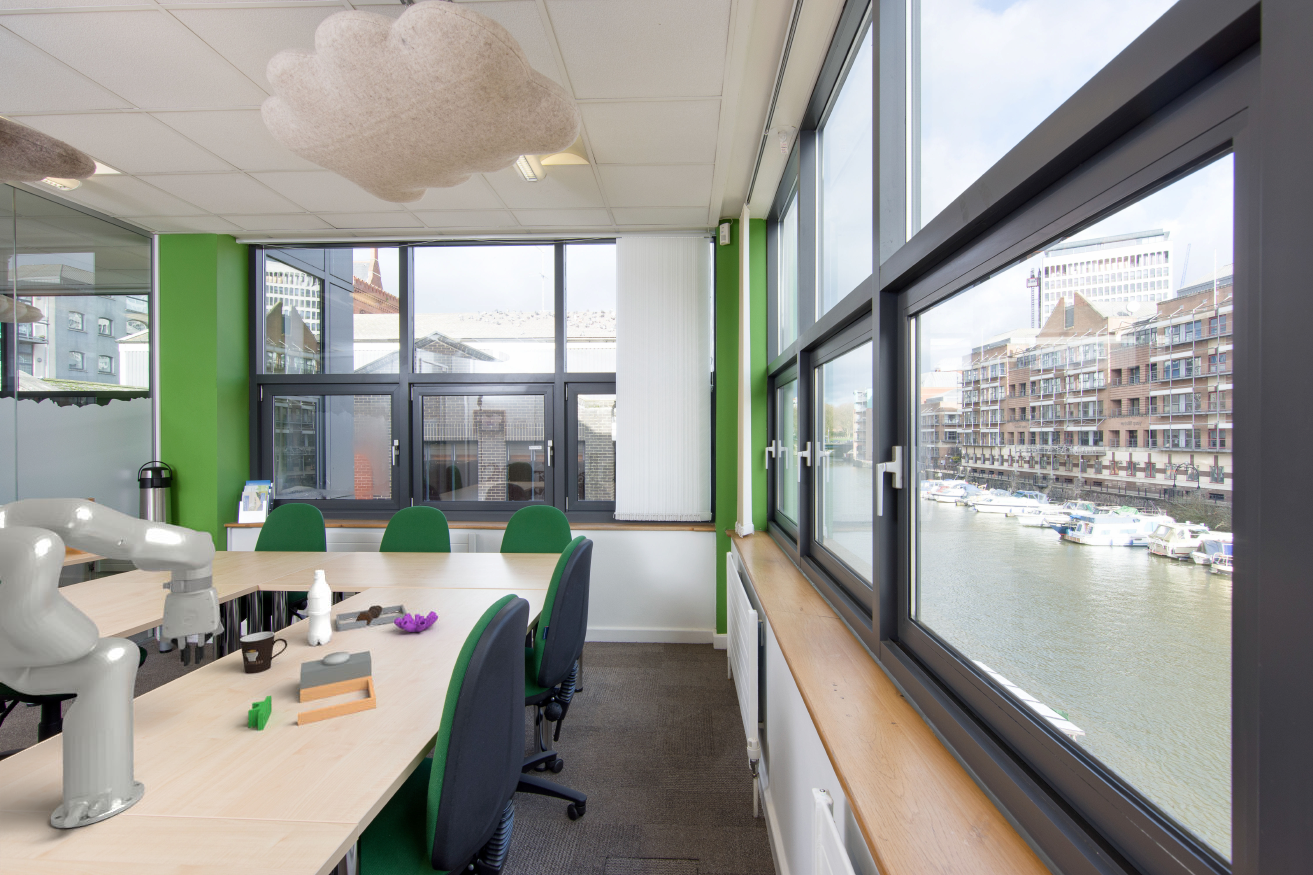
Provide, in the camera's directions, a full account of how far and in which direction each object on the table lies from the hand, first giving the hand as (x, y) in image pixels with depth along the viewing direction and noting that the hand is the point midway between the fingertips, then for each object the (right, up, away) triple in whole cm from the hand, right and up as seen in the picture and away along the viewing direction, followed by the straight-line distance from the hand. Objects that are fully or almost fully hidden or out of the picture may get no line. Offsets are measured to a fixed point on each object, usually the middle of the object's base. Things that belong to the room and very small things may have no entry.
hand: (192, 662), depth 132 cm
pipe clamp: (+11, -17, +6) cm, 22 cm away
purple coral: (+22, -18, +72) cm, 77 cm away
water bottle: (-6, -18, +61) cm, 64 cm away
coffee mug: (-11, -18, +39) cm, 44 cm away
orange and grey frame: (+23, -17, +19) cm, 34 cm away
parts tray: (-1, -18, +85) cm, 87 cm away
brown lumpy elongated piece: (-1, -18, +85) cm, 87 cm away
